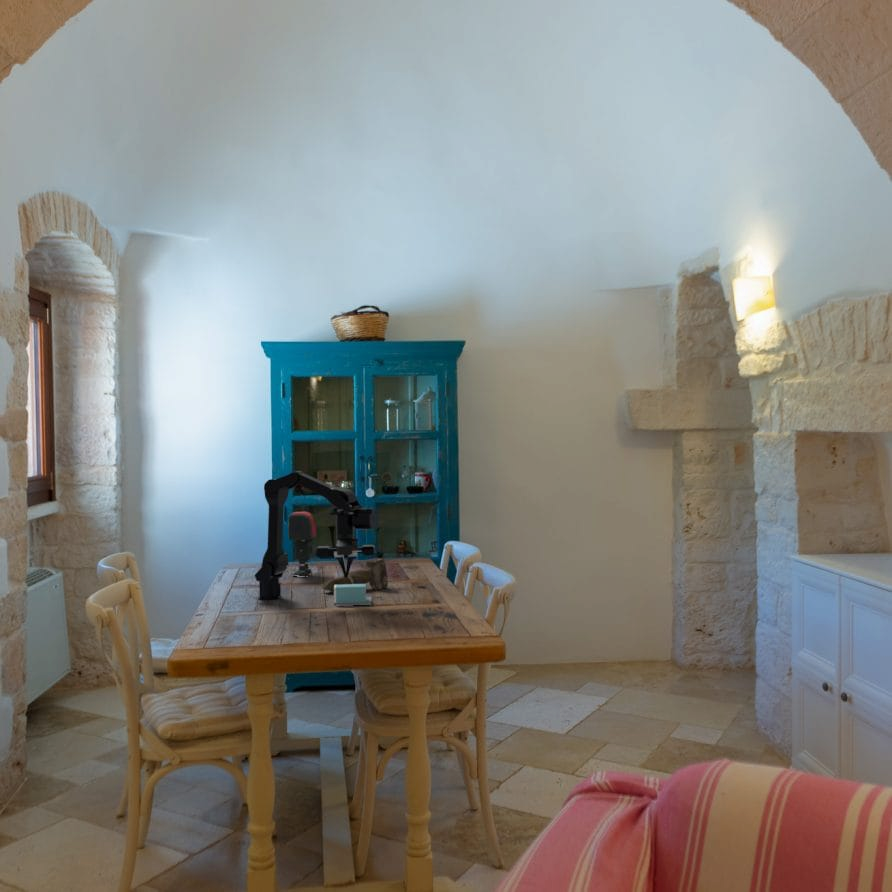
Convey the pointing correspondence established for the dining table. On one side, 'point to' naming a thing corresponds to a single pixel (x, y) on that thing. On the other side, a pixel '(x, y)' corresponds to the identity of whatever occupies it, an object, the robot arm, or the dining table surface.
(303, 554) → the toy robot
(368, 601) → the felt mat
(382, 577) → the sculpture
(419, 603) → the dining table surface
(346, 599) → the teal block
